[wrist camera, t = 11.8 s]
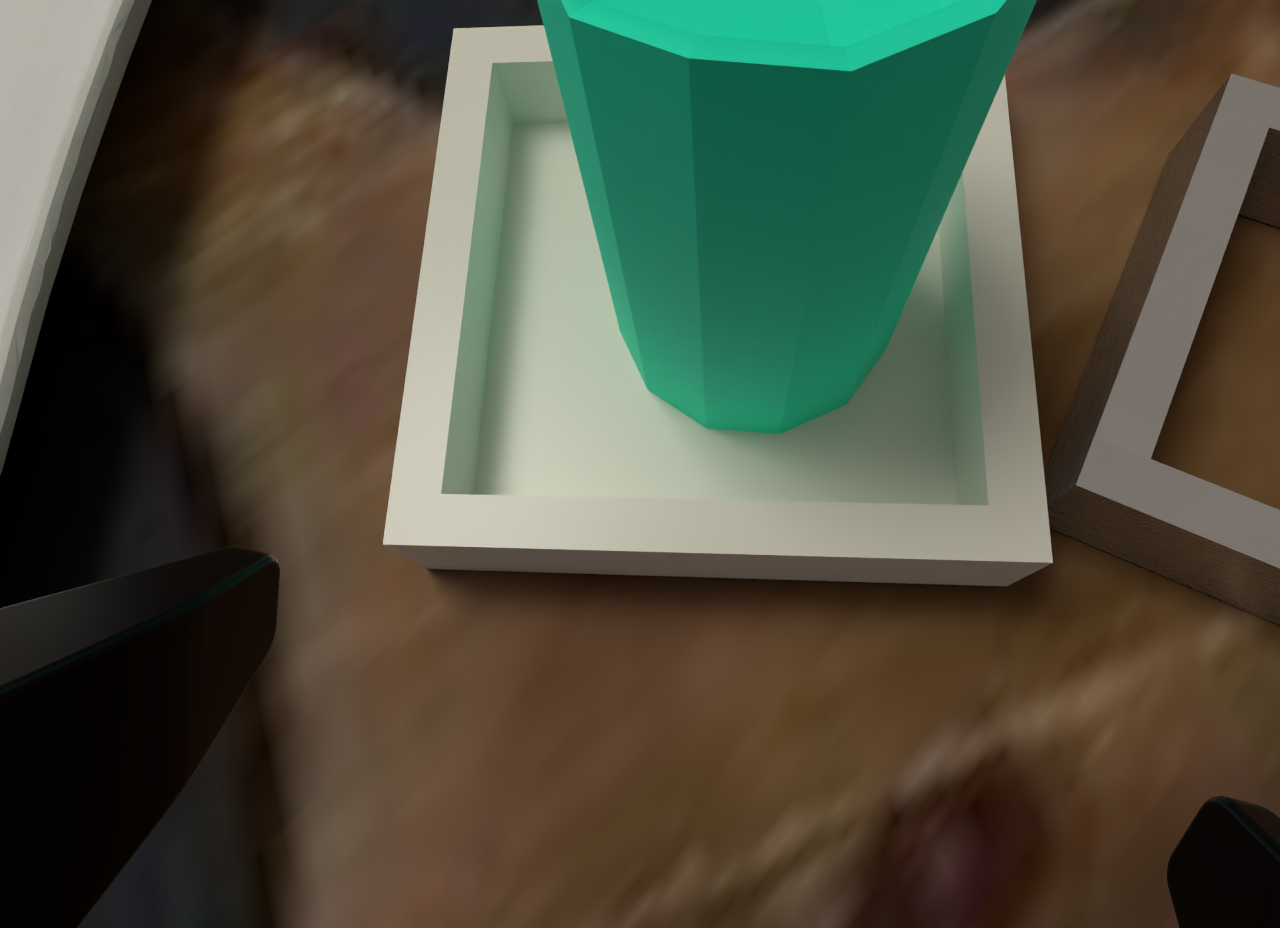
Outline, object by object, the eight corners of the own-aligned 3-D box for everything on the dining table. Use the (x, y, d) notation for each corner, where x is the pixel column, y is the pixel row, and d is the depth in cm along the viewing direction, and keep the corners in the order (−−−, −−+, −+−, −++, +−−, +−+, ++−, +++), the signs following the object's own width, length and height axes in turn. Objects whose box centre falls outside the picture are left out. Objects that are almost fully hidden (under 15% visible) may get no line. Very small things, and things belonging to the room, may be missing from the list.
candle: (767, 147, 20) (829, -617, 9) (951, 320, 18) (1327, -350, 7) (566, 296, 19) (346, -324, 8) (736, 492, 18) (768, 55, 6)
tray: (1006, 586, 17) (1052, 562, 15) (426, 569, 18) (382, 544, 16) (966, 93, 21) (998, 9, 18) (482, 105, 22) (453, 28, 20)
